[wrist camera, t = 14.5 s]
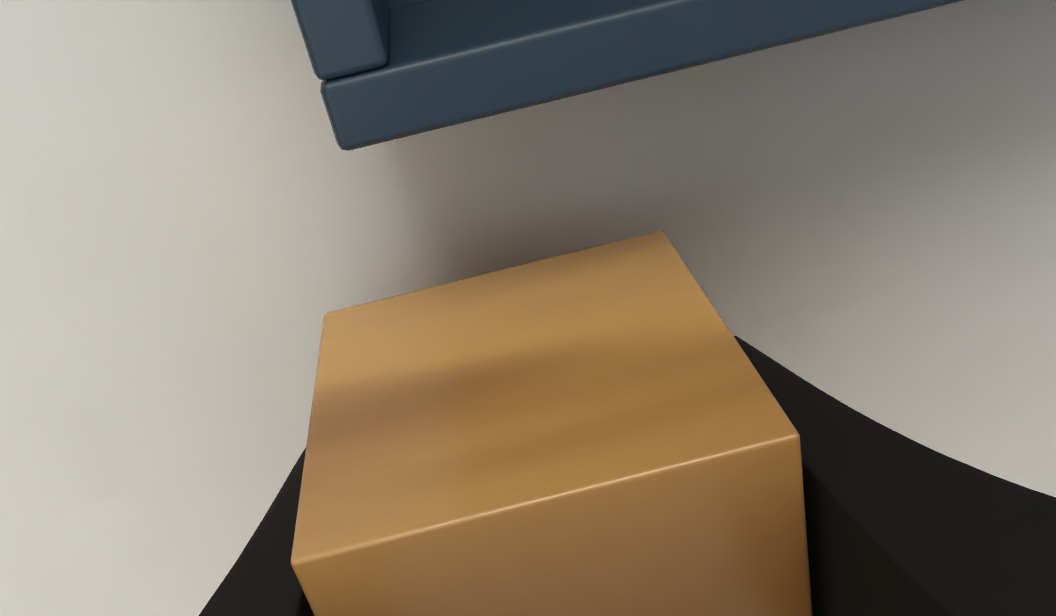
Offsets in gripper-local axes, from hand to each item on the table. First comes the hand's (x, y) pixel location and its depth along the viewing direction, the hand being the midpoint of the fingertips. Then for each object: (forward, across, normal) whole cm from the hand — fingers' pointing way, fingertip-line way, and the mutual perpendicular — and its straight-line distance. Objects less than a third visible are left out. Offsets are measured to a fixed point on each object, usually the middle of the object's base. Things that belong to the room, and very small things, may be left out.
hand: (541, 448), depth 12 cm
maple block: (+1, 0, 0) cm, 1 cm away
